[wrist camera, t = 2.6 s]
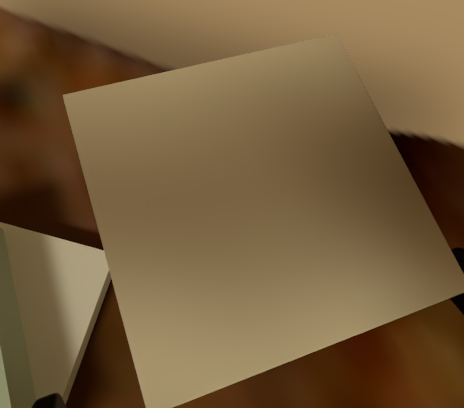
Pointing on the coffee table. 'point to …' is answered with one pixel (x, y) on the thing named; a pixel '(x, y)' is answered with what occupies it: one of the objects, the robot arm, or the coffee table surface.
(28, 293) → the board
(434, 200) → the coffee table surface
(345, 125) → the birch cabinet block
